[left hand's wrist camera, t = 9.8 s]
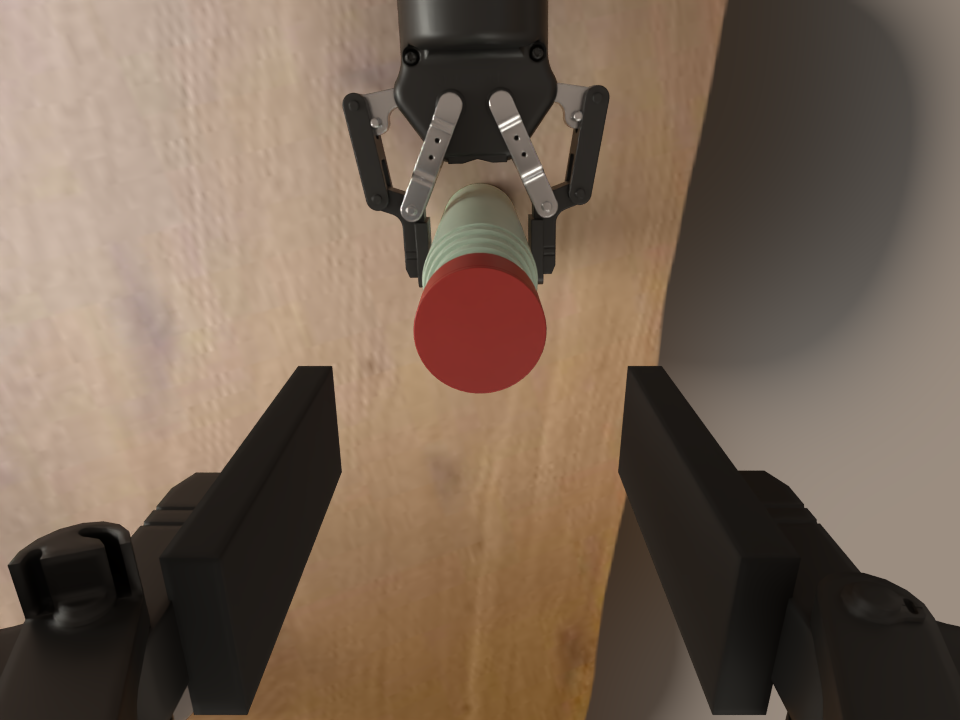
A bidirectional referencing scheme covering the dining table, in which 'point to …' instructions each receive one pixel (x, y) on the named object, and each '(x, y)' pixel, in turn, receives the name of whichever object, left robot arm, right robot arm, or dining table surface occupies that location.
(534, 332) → the cap
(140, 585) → the left robot arm
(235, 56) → the dining table surface
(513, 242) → the bottle
